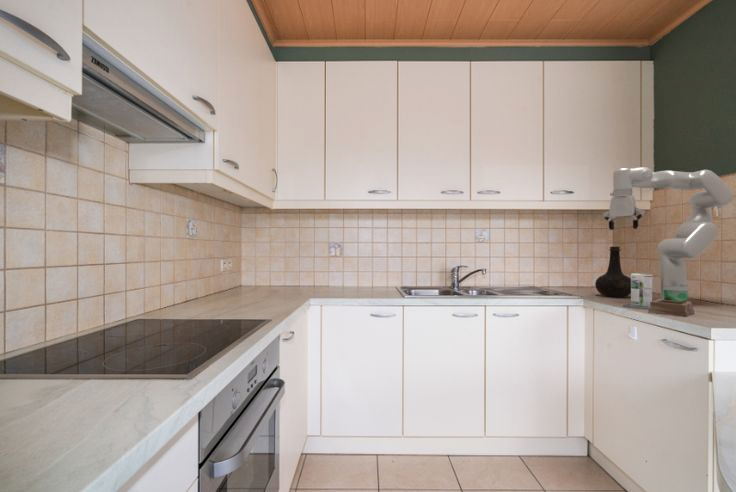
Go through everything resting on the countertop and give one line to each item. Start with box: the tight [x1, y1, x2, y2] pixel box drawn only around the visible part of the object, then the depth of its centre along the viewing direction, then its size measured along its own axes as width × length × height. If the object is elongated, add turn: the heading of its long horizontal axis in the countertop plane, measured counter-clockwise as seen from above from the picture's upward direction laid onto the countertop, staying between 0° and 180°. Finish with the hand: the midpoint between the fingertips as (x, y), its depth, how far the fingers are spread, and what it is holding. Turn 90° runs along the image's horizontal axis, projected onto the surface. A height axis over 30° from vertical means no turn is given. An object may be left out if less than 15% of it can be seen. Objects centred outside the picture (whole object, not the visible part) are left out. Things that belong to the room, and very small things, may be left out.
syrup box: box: [630, 272, 653, 306], centre depth 161 cm, size 6×6×14 cm
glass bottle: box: [594, 246, 631, 298], centre depth 197 cm, size 18×18×28 cm
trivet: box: [622, 302, 650, 311], centre depth 161 cm, size 11×11×1 cm
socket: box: [648, 299, 695, 318], centre depth 147 cm, size 12×12×4 cm
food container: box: [663, 284, 691, 302], centre depth 160 cm, size 12×6×10 cm, turn 107°
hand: (623, 229), depth 172 cm, fingers open, 9 cm apart
